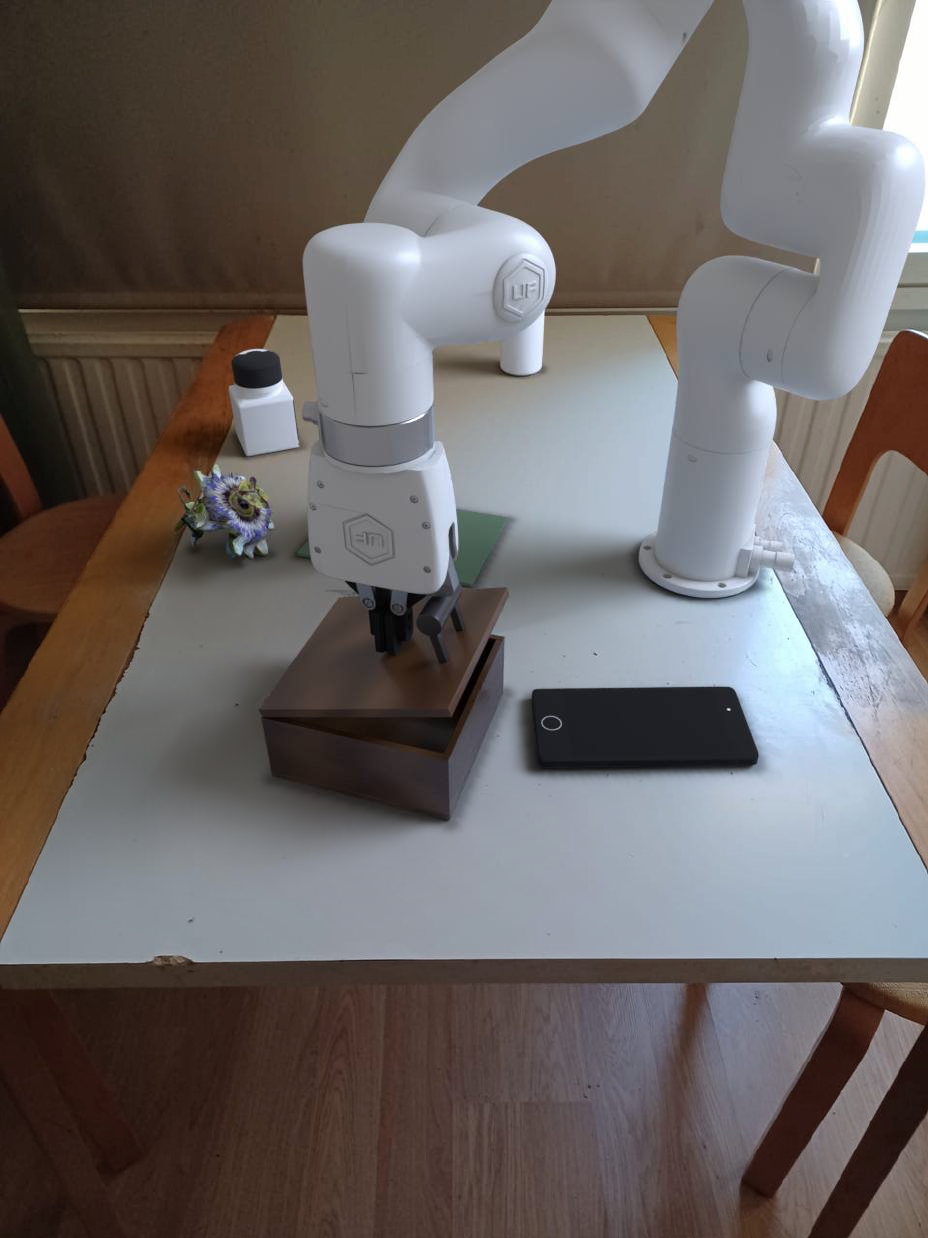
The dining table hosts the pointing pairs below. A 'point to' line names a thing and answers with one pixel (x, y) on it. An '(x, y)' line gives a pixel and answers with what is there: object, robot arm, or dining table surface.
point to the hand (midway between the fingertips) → (392, 642)
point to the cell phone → (641, 727)
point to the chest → (393, 747)
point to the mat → (465, 543)
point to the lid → (388, 661)
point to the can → (523, 350)
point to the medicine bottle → (262, 404)
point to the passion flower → (229, 512)
